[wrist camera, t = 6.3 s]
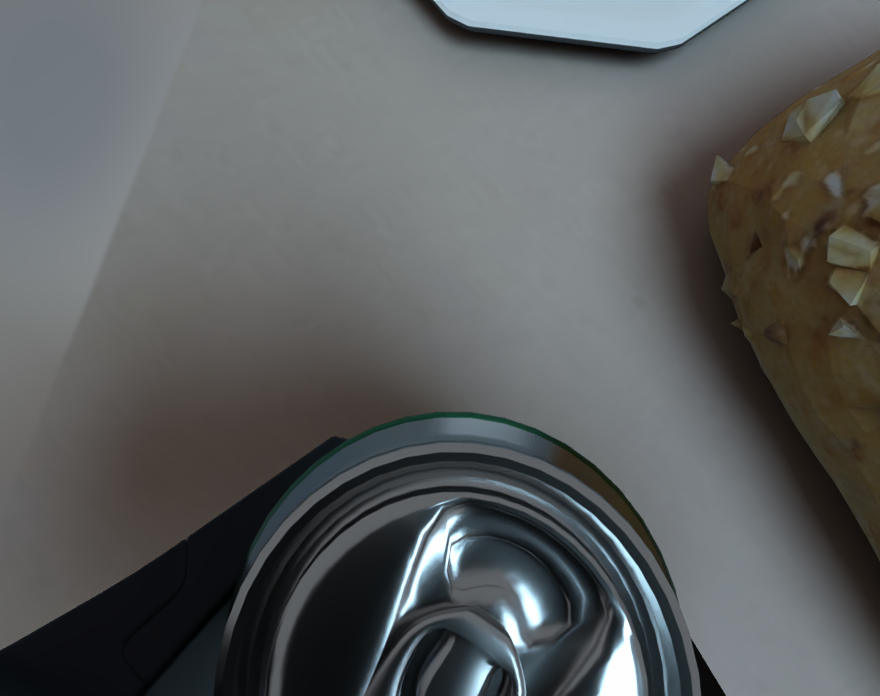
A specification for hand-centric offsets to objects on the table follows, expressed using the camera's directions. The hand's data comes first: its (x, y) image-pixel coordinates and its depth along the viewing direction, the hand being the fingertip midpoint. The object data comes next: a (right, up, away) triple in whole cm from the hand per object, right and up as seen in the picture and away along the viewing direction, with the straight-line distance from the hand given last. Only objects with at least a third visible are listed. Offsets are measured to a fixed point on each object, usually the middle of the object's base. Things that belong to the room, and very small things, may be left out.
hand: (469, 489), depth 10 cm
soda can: (0, -3, +6) cm, 7 cm away
